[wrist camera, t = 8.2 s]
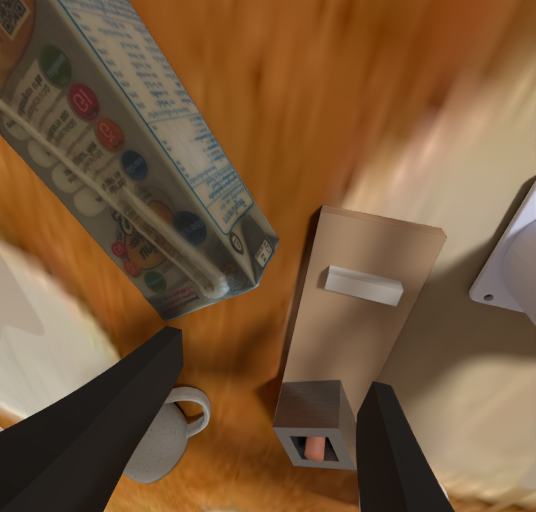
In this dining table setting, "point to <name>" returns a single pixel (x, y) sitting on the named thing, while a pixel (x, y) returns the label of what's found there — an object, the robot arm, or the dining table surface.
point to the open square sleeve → (316, 423)
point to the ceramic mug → (167, 438)
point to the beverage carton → (128, 151)
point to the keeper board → (357, 300)
